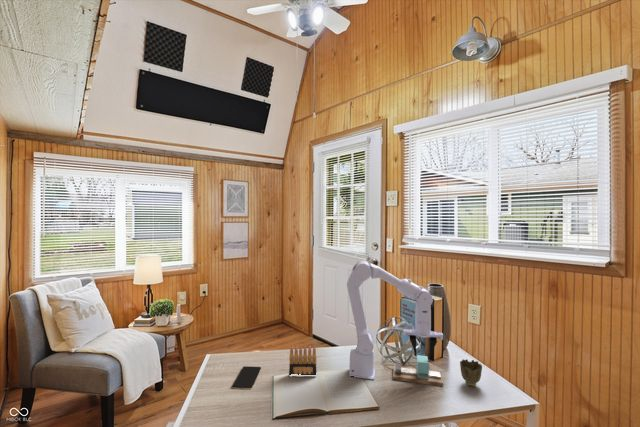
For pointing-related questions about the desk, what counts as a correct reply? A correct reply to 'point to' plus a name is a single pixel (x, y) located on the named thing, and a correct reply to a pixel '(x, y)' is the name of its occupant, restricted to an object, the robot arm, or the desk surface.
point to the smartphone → (246, 378)
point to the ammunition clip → (302, 361)
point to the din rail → (414, 372)
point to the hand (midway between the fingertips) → (422, 355)
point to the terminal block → (422, 367)
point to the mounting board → (415, 378)
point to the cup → (471, 372)
